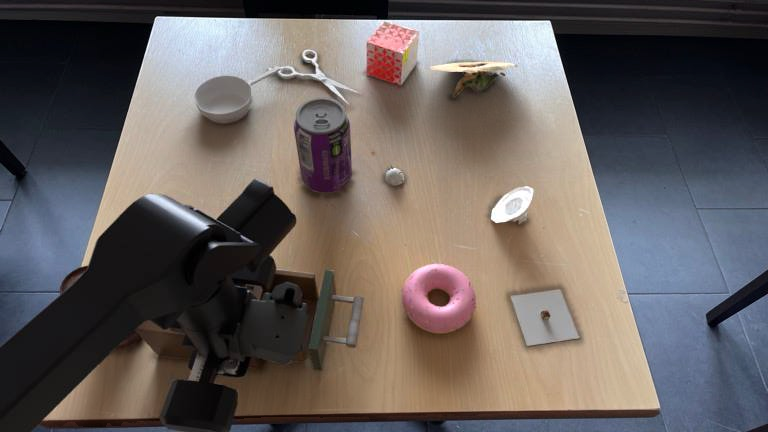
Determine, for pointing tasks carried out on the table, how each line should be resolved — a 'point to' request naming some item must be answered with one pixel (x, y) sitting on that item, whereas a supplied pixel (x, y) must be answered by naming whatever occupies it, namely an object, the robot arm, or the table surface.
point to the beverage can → (323, 144)
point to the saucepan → (227, 96)
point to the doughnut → (432, 315)
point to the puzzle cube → (392, 52)
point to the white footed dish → (513, 205)
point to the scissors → (314, 75)
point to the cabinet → (180, 338)
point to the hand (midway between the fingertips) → (240, 363)
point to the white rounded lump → (394, 176)
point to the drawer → (320, 313)
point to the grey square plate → (544, 317)
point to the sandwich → (474, 73)
